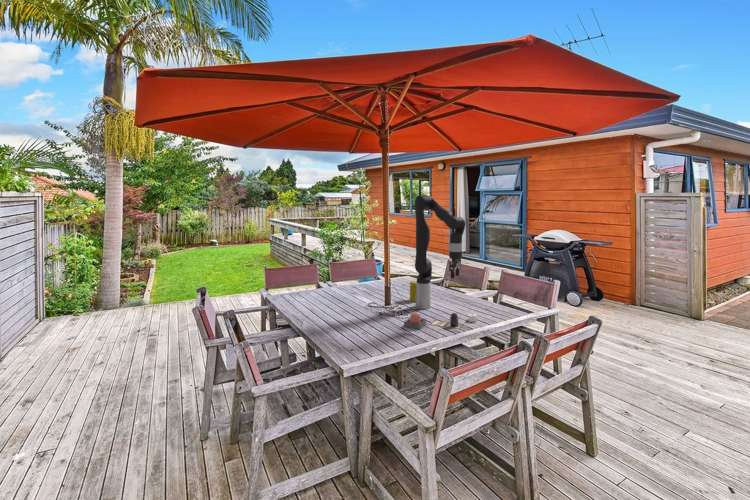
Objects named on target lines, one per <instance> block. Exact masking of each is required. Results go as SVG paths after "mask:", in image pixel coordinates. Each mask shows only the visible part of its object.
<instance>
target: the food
mask: <svg viewBox="0 0 750 500" xmlns="http://www.w3.org/2000/svg"><path fill="white" fill-rule="evenodd" d="M416 293H417V280H411V281H410V283H409V301H410V302H415V303H416Z"/></svg>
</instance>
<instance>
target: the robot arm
mask: <svg viewBox="0 0 750 500" xmlns="http://www.w3.org/2000/svg"><path fill="white" fill-rule="evenodd" d="M425 210H430V211H432V212H434V215H435V216H436V217H437V218H438V219H439V220H441V221H442V222H443V223H445V225H446V226H447V228H449V229H451V230H454V232H452V233H450V235H449V252H448V253H449V255H448V257H449V259H451V261H449V265H448V266H449V267H448V268H449V269H448V271H449V272H450V279H455V276H456V277H459V276H460V270H461V269H462V258H463V235H464V233H465V229H466V220H465V219H464V218H463V216H462V217H461V216H456V217H455V216H454V215H453V212H451V211H449V210H447V209H446V208H444V207H443V206H442V205H441V204H439V203H438V202H437V201H436V200H435V199H434V198H433V197H432V196H431V195H426V194H425V195H424V194H419V195H417V196H415V199H414V213H415V258H414V260H415V261H414V269H415V271H416V272H417V273H418V276H417V277H416V281H417V293H416V301H415V308H417V309H418V310H419V309H420V310H428V309H431V280H432V276H433V275H432V273H433V264H432V261H431V259H429V258H427V251H428V248H429V244H430V241H431V240H430V239H431V228H430V226H429V224H428V222H427V220H426V219H425Z"/></svg>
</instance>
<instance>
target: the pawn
mask: <svg viewBox="0 0 750 500" xmlns="http://www.w3.org/2000/svg"><path fill="white" fill-rule="evenodd" d="M449 320H450V321H449V322H450V326H451V327H458V324H459V317H458V314H457V313H456V312H453V313H451V314H450V318H449Z"/></svg>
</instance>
